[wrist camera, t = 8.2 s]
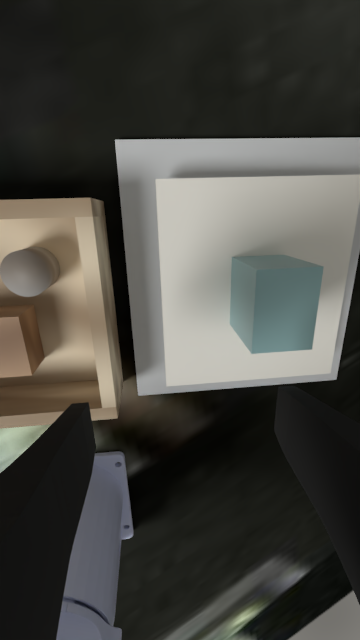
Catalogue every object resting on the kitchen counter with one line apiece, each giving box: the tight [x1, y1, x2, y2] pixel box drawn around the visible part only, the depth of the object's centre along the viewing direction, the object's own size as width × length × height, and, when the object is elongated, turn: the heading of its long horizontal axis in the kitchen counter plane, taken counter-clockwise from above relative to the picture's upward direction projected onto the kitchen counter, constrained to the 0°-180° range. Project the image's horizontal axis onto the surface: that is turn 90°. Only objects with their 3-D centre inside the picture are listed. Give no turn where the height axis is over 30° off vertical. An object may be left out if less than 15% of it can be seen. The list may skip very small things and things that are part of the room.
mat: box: [115, 137, 360, 396], centre depth 19 cm, size 16×15×1 cm
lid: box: [155, 175, 360, 387], centre depth 16 cm, size 12×11×6 cm
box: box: [0, 198, 123, 428], centre depth 17 cm, size 12×11×4 cm
